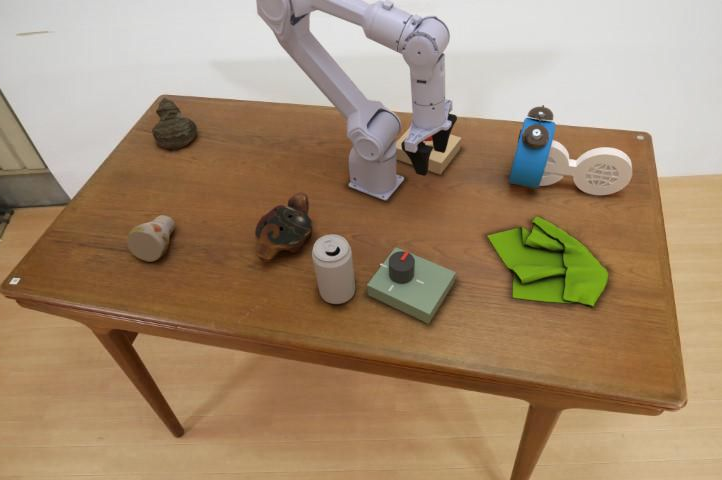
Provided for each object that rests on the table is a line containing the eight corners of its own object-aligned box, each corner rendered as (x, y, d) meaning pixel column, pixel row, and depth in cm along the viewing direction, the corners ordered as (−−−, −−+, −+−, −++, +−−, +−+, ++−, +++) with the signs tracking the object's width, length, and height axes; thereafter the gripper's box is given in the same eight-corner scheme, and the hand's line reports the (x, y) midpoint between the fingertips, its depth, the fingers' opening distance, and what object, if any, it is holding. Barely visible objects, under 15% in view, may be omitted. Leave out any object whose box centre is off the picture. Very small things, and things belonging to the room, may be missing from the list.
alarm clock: (534, 202, 97) (553, 140, 85) (503, 196, 99) (518, 134, 87) (542, 162, 105) (561, 101, 93) (514, 157, 106) (529, 96, 95)
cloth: (608, 318, 80) (613, 310, 78) (475, 290, 84) (477, 281, 82) (608, 231, 92) (612, 222, 90) (492, 210, 96) (494, 202, 95)
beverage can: (328, 312, 83) (320, 268, 73) (314, 286, 86) (304, 241, 77) (361, 297, 84) (357, 252, 75) (346, 272, 88) (340, 226, 79)
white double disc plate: (620, 191, 98) (640, 151, 90) (620, 199, 97) (640, 159, 89) (510, 174, 103) (520, 135, 95) (509, 181, 102) (519, 141, 94)
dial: (406, 287, 82) (407, 273, 79) (384, 277, 83) (383, 263, 80) (418, 270, 84) (419, 255, 81) (396, 260, 85) (396, 246, 82)
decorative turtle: (328, 221, 96) (324, 194, 90) (290, 280, 89) (283, 254, 82) (286, 207, 99) (279, 179, 92) (246, 262, 91) (235, 236, 85)
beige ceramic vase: (188, 224, 98) (172, 211, 88) (171, 270, 96) (153, 261, 86) (152, 214, 97) (132, 199, 88) (134, 259, 96) (113, 249, 86)
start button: (416, 138, 105) (416, 131, 103) (423, 130, 107) (424, 123, 105) (431, 143, 103) (431, 136, 102) (438, 134, 105) (439, 127, 104)
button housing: (392, 158, 108) (392, 139, 104) (413, 134, 113) (413, 115, 109) (440, 175, 104) (442, 156, 100) (460, 149, 109) (462, 130, 105)
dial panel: (366, 294, 85) (365, 283, 82) (394, 256, 90) (394, 245, 88) (428, 324, 80) (429, 313, 78) (454, 282, 86) (456, 271, 83)
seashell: (203, 100, 115) (165, 96, 116) (177, 99, 104) (134, 95, 105) (204, 148, 119) (167, 144, 120) (179, 152, 108) (138, 148, 109)
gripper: (429, 124, 77) (431, 190, 87) (468, 80, 84) (466, 145, 94) (391, 115, 80) (398, 180, 90) (432, 74, 87) (434, 138, 97)
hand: (430, 162), depth 92 cm, fingers open, 7 cm apart
